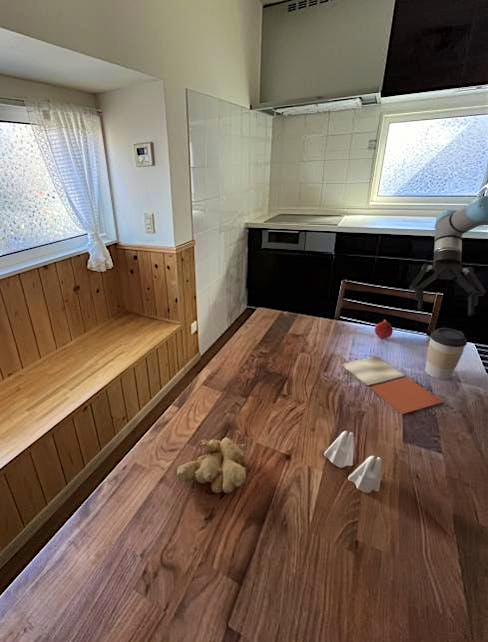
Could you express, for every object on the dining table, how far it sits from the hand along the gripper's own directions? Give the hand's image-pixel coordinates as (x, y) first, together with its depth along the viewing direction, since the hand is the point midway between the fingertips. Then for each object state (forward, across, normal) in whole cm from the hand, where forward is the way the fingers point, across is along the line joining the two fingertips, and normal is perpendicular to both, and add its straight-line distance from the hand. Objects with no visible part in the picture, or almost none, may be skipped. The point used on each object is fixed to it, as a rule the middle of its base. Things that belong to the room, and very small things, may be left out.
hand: (444, 312), depth 109 cm
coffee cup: (+19, 0, -5) cm, 20 cm away
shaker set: (+54, +25, +31) cm, 67 cm away
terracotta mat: (+30, +10, +6) cm, 33 cm away
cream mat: (+23, +19, -1) cm, 30 cm away
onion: (+7, +15, -17) cm, 24 cm away
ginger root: (+62, +52, +38) cm, 90 cm away
